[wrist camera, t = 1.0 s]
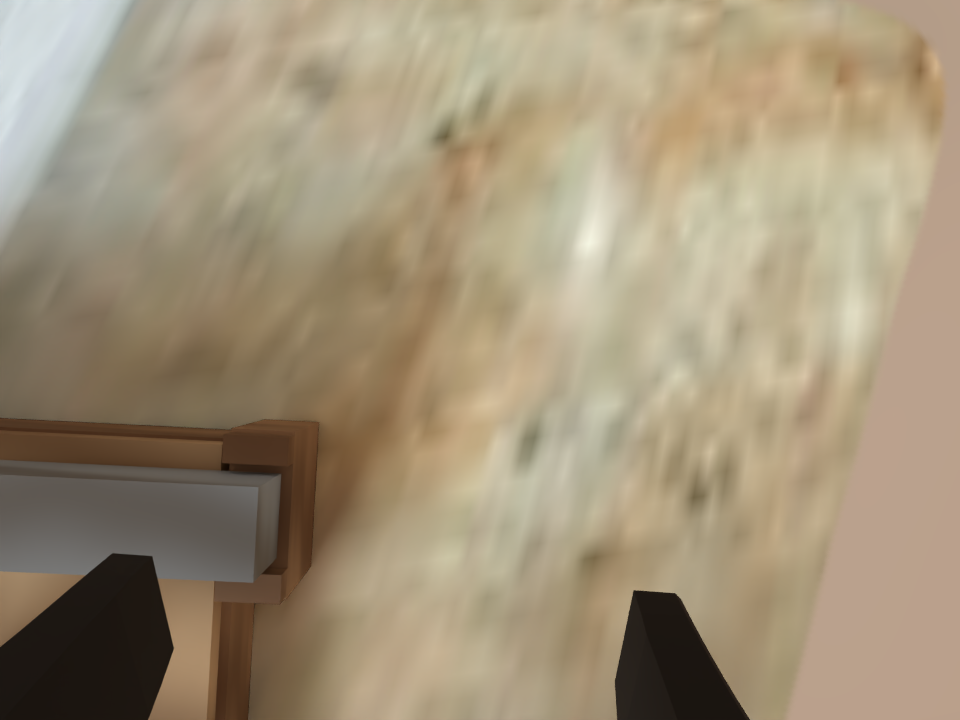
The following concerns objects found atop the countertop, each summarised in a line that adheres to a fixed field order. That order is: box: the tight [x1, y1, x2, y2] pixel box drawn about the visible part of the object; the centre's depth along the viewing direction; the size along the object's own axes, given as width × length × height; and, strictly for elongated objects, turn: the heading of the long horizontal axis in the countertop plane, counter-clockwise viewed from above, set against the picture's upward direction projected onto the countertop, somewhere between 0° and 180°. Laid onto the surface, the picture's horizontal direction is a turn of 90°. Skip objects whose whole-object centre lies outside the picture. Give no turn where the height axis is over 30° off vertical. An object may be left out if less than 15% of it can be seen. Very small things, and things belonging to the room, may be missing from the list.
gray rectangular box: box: [0, 460, 281, 583], centre depth 20 cm, size 2×14×2 cm, turn 87°
